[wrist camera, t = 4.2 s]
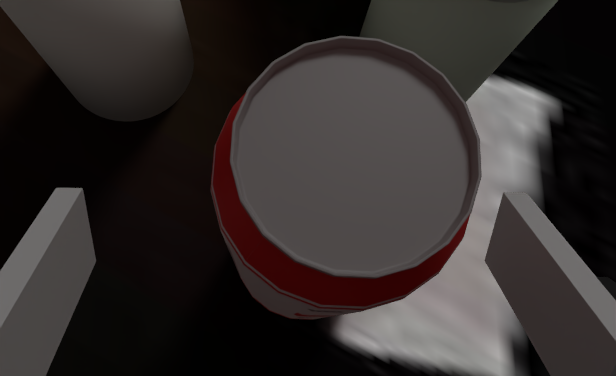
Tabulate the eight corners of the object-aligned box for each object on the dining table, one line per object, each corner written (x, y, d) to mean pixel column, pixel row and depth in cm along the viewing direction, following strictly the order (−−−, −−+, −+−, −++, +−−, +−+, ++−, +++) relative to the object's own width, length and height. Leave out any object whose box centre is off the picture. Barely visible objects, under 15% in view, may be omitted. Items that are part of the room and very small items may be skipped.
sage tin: (464, 21, 30) (582, -157, 19) (474, 130, 29) (609, 6, 17) (349, 16, 30) (401, -169, 19) (352, 127, 28) (411, -3, 17)
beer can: (390, 258, 26) (571, 163, 11) (297, 348, 25) (355, 384, 10) (305, 167, 27) (360, -41, 12) (210, 250, 26) (132, 135, 10)
